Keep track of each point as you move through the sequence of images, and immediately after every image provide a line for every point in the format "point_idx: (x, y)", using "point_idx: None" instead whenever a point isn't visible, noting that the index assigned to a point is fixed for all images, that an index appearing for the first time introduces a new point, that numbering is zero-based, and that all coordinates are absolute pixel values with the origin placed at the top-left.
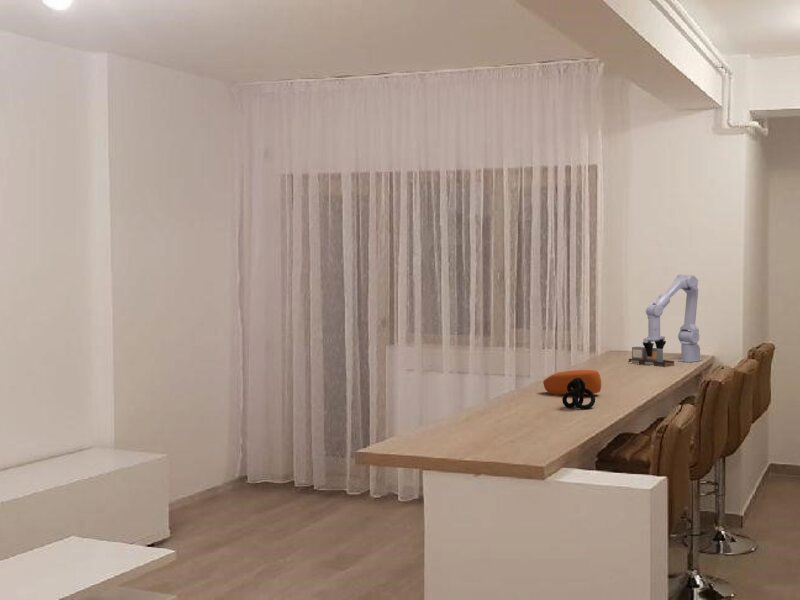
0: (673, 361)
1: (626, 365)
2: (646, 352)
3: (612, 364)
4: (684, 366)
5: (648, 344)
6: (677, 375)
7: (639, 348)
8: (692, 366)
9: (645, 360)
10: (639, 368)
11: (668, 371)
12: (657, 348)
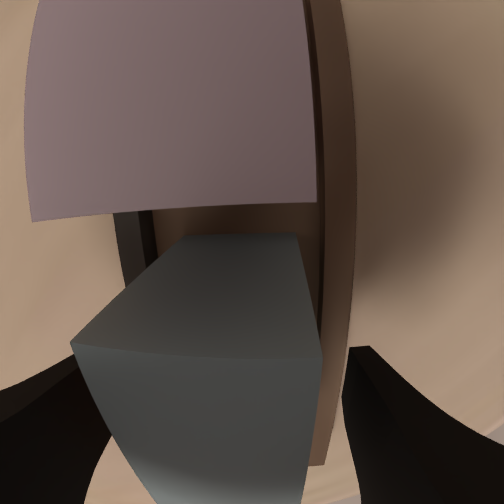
0: (314, 463)
1: (16, 152)
2: (120, 294)
3: (6, 43)
4: (321, 477)
5: (6, 492)
6: (89, 500)
7: (37, 85)
8: (349, 488)
9: (129, 269)
10: (18, 340)
11: (105, 477)
12: (291, 488)
